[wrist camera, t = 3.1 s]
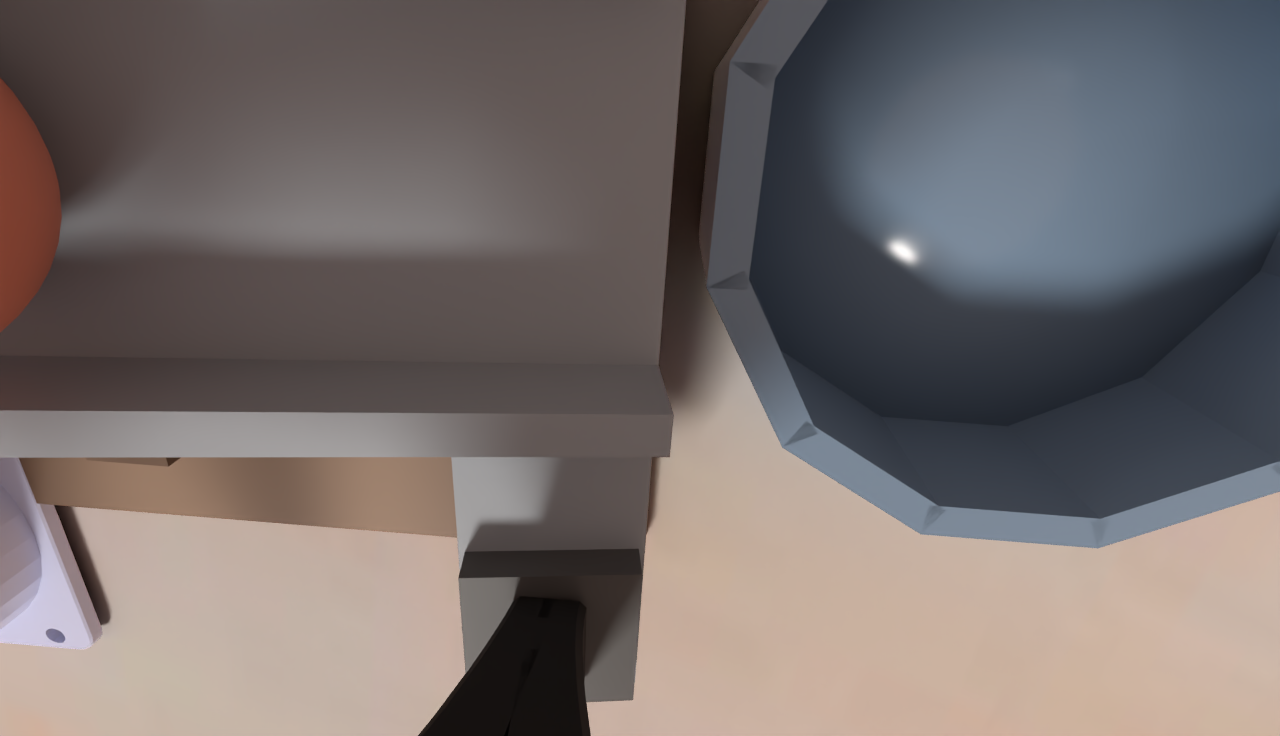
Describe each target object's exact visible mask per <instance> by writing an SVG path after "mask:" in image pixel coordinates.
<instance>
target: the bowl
mask: <svg viewBox="0 0 1280 736" xmlns="http://www.w3.org/2000/svg"><path fill="white" fill-rule="evenodd" d="M698 238H699V244H700V250H701V256H702V262H703V269H704V275H705V281H706V287H707V290H708V292H709V294H710V296H711V298H712V300H713V302H714V304H715V306H716V309H717V311H718V313H719V315H720V317H721V319H722V321H723V323H724V325H725V327H726V330H727V332H728V334H729V336H730V338H731V340H732V342H733V344H734V346H735V349H736V351H737V353H738V355H739V357H740V359H741V361H742V363H743V365H744V368H745V370H746V372H747V374H748V376H749V378H750V380H751V382H752V384H753V386H754V389H755V391H756V393H757V395H758V397H759V399H760V401H761V403H762V405H763V408H764V410H765V412H766V414H767V416H768V418H769V420H770V422H771V424H772V427H773V429H774V431H775V433H776V435H777V437H778V439H779V441H780V443H781V446H782V448H784V449H786V450H787V451H789V452H790V453H792V454H794V455H795V456H797V457H798V458H800V459H802V460H803V461H805V462H806V463H808V464H810V465H811V466H813V467H814V468H816V469H818V470H819V471H821V472H822V473H824V474H826V475H827V476H829V477H830V478H832V479H834V480H835V481H837V482H838V483H840V484H842V485H843V486H845V487H846V488H848V489H849V490H851V491H853V492H854V493H856V494H857V495H859V496H861V497H862V498H864V499H865V500H867V501H869V502H870V503H872V504H873V505H875V506H877V507H878V508H880V509H881V510H883V511H885V512H886V513H888V514H889V515H891V516H893V517H894V518H896V519H897V520H899V521H901V522H902V523H904V524H905V525H907V526H909V527H910V528H912V529H913V530H915V531H917V532H918V533H920V534H924V535H937V536H950V537H962V538H975V539H987V540H1000V541H1013V542H1025V543H1038V544H1051V545H1063V546H1076V547H1088V548H1100V547H1103V546H1107V545H1110V544H1113V543H1116V542H1119V541H1123V540H1126V539H1129V538H1132V537H1136V536H1139V535H1142V534H1145V533H1148V532H1152V531H1155V530H1158V529H1161V528H1164V527H1168V526H1171V525H1174V524H1177V523H1180V522H1184V521H1187V520H1190V519H1193V518H1196V517H1200V516H1203V515H1206V514H1209V513H1212V512H1216V511H1219V510H1222V509H1225V508H1228V507H1232V506H1235V505H1238V504H1241V503H1244V502H1248V501H1251V500H1254V499H1257V498H1260V497H1264V496H1267V495H1270V494H1273V493H1276V492H1280V0H760V1H759V2H758V4H757V5H756V7H755V8H754V10H753V11H752V13H751V15H750V16H749V18H748V19H747V21H746V22H745V24H744V26H743V27H742V29H741V30H740V32H739V33H738V35H737V37H736V38H735V40H734V41H733V43H732V44H731V46H730V48H729V49H728V51H727V52H726V54H725V55H724V57H723V59H722V60H721V62H720V63H719V65H718V66H717V68H716V70H715V71H714V78H713V89H712V99H711V110H710V120H709V131H708V142H707V152H706V163H705V173H704V184H703V194H702V205H701V215H700V226H699V237H698Z"/></svg>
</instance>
